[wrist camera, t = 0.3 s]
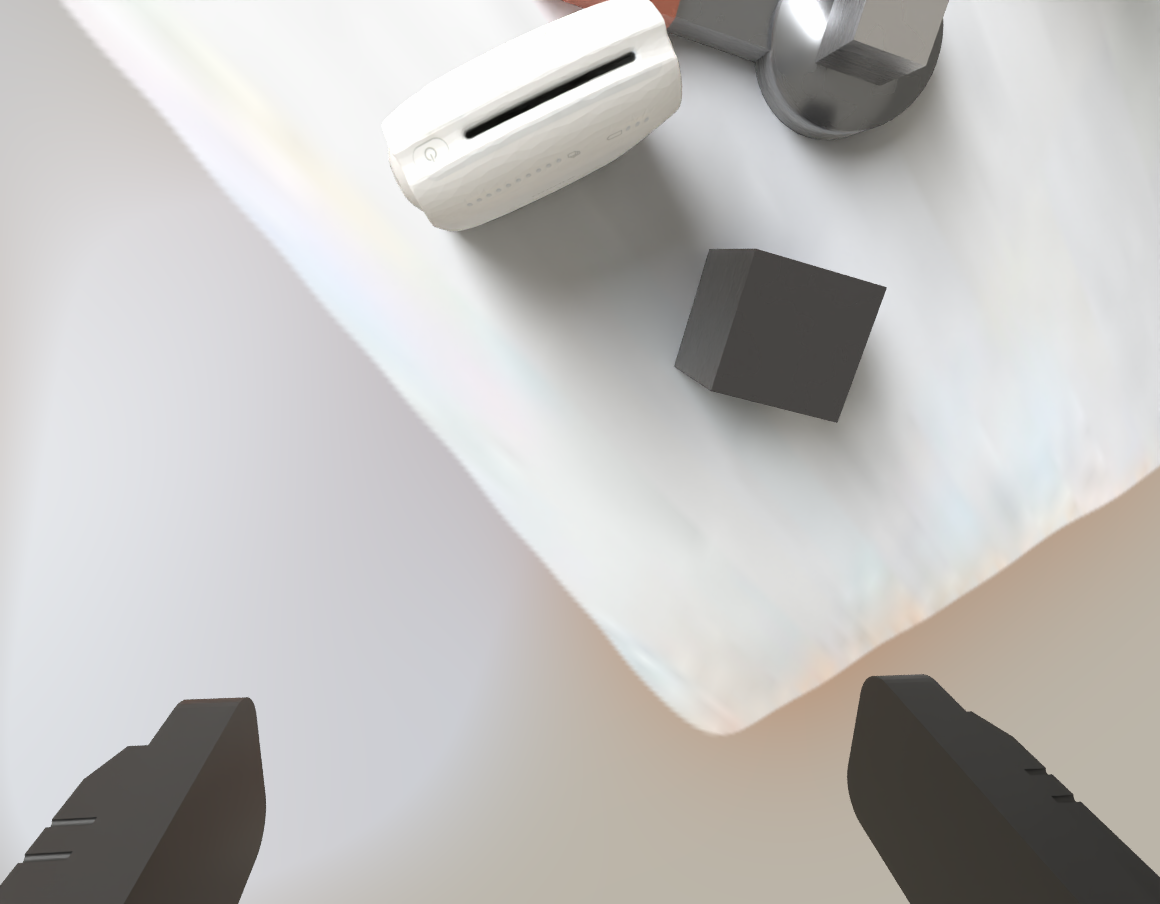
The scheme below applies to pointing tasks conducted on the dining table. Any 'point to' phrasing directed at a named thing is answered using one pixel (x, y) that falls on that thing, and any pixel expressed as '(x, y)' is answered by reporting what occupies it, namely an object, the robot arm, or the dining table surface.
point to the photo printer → (534, 114)
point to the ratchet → (821, 54)
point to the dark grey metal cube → (778, 331)
